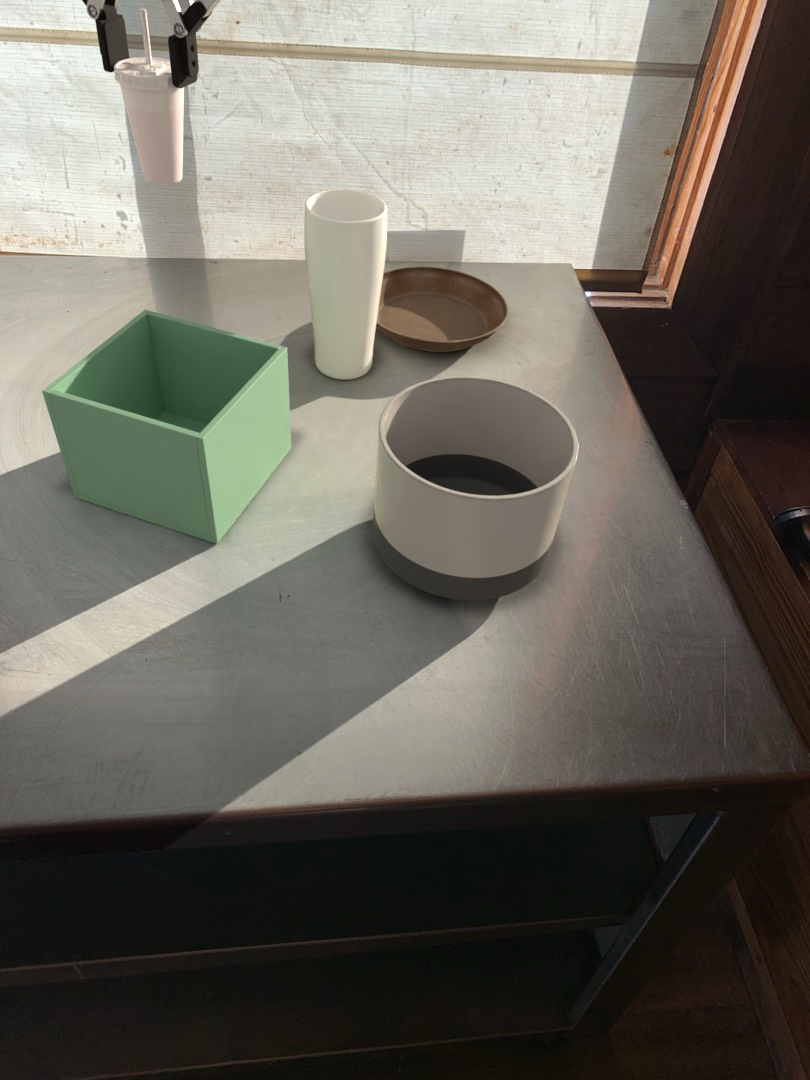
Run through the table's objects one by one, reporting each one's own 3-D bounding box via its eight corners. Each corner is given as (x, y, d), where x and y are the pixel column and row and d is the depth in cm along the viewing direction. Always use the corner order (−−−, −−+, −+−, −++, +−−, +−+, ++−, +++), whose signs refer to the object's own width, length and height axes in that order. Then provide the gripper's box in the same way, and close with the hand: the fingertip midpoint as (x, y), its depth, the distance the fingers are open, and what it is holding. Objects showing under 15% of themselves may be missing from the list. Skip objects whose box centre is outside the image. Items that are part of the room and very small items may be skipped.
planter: (341, 572, 55) (343, 456, 48) (414, 469, 64) (426, 356, 56) (514, 639, 52) (545, 526, 45) (566, 521, 61) (600, 409, 53)
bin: (74, 497, 59) (41, 390, 52) (163, 411, 67) (145, 309, 60) (217, 544, 56) (202, 439, 50) (291, 448, 64) (287, 347, 58)
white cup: (388, 383, 72) (398, 220, 61) (315, 391, 70) (313, 225, 60) (369, 343, 77) (376, 186, 66) (300, 350, 75) (296, 189, 64)
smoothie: (191, 163, 81) (176, 2, 71) (200, 189, 77) (186, 21, 67) (126, 165, 79) (101, 0, 69) (132, 191, 75) (106, 19, 65)
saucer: (530, 322, 82) (535, 298, 80) (453, 383, 73) (456, 358, 71) (414, 275, 87) (416, 252, 85) (329, 327, 78) (329, 302, 76)
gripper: (-13, -207, 58) (43, 67, 71) (195, -174, 55) (215, 107, 68) (53, -206, 63) (94, 49, 76) (247, -176, 60) (256, 85, 73)
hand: (151, 74), depth 72 cm, fingers closed on smoothie, 6 cm apart
